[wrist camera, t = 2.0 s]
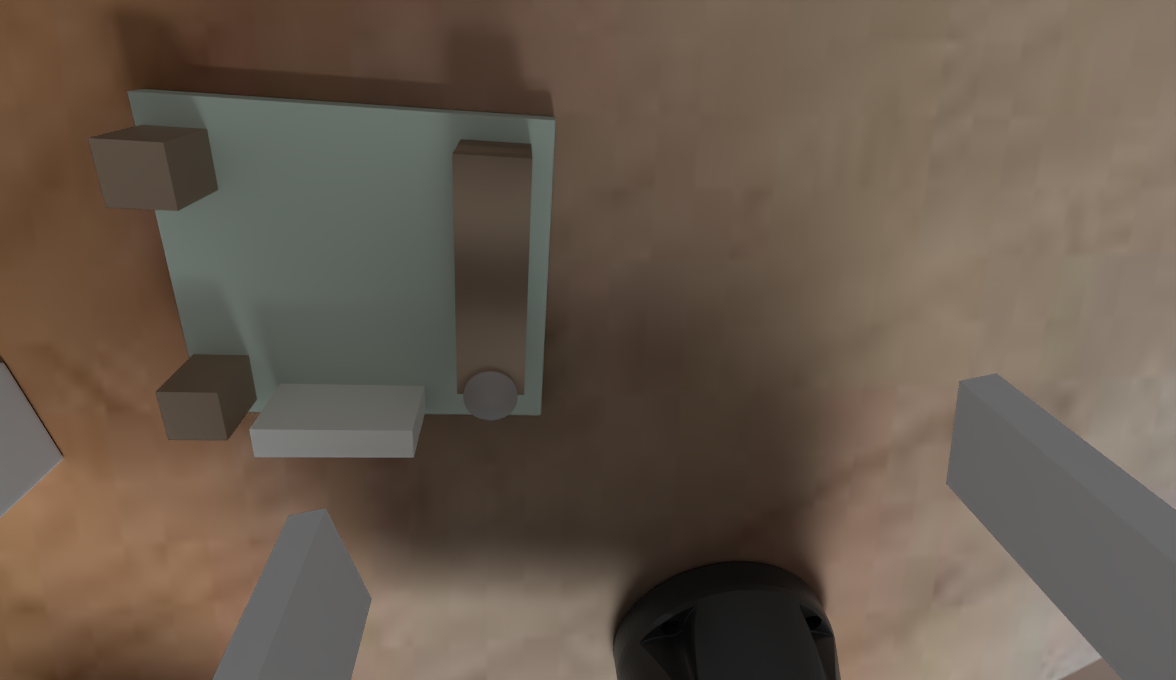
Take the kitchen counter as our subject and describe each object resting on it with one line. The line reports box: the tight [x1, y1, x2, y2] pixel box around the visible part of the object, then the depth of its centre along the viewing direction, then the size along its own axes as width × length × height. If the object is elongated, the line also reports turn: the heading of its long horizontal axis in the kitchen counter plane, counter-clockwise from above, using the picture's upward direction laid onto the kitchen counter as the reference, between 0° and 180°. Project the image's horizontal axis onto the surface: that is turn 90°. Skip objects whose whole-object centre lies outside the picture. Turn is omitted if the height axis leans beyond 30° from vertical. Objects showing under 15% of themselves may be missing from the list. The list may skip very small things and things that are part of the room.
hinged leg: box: [452, 139, 533, 421], centre depth 27 cm, size 12×3×4 cm, turn 176°
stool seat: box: [88, 89, 556, 458], centre depth 28 cm, size 17×15×5 cm
